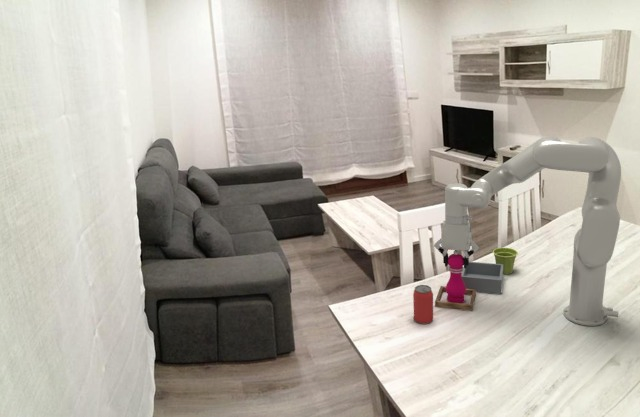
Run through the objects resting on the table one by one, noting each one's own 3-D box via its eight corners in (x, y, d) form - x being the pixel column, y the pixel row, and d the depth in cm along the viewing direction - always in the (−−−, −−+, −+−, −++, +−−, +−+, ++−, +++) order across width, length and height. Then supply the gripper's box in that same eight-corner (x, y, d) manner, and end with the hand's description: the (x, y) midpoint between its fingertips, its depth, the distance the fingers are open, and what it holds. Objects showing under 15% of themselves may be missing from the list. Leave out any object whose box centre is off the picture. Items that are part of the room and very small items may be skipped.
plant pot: (520, 275, 194) (521, 255, 191) (496, 277, 194) (497, 257, 191) (511, 266, 203) (512, 246, 200) (489, 267, 203) (489, 248, 200)
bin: (502, 277, 193) (503, 264, 191) (501, 294, 180) (501, 280, 178) (465, 274, 199) (465, 261, 197) (460, 290, 186) (460, 276, 184)
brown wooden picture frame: (475, 294, 182) (475, 289, 181) (472, 311, 170) (472, 306, 170) (440, 290, 187) (440, 285, 186) (434, 306, 175) (434, 301, 175)
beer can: (422, 326, 163) (421, 294, 160) (409, 318, 169) (409, 287, 165) (437, 320, 166) (437, 289, 163) (424, 312, 172) (424, 282, 168)
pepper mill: (466, 305, 174) (467, 254, 168) (446, 305, 176) (446, 254, 170) (464, 296, 181) (465, 246, 175) (445, 295, 183) (445, 246, 177)
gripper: (482, 216, 169) (481, 263, 174) (433, 214, 176) (433, 259, 181) (481, 223, 162) (480, 272, 168) (429, 221, 169) (430, 268, 174)
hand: (455, 265), depth 174 cm, fingers closed on pepper mill, 6 cm apart
